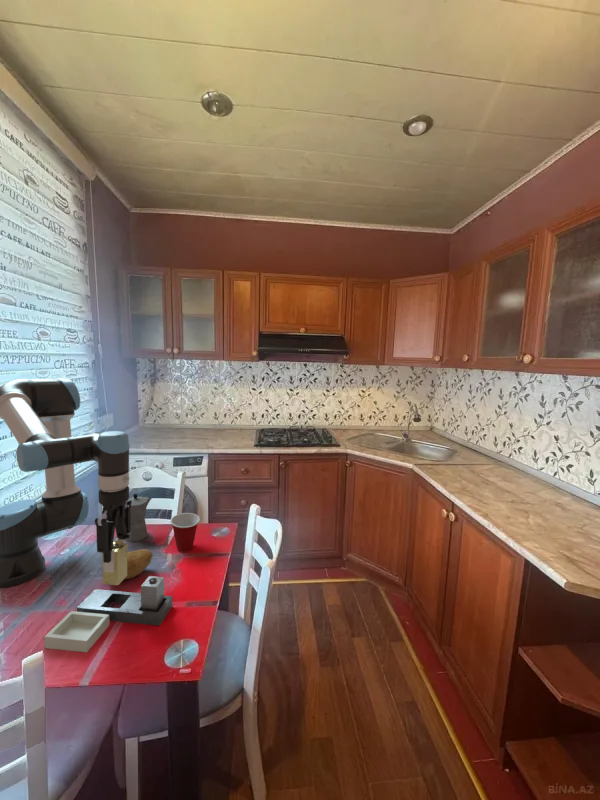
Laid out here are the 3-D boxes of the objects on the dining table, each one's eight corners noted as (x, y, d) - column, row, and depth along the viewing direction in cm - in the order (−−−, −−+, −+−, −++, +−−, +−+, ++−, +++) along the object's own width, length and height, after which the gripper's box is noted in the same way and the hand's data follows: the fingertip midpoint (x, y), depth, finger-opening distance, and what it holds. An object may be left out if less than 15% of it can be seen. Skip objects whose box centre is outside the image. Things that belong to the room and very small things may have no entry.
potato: (157, 574, 117) (157, 552, 116) (111, 591, 108) (111, 567, 107) (147, 561, 124) (147, 540, 124) (103, 576, 115) (103, 554, 114)
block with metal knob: (102, 583, 97) (102, 549, 96) (112, 573, 102) (112, 540, 100) (118, 585, 97) (117, 550, 96) (127, 575, 101) (127, 542, 100)
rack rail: (76, 617, 97) (76, 607, 96) (95, 598, 105) (95, 589, 104) (159, 625, 95) (159, 615, 95) (172, 605, 103) (172, 596, 103)
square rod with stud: (141, 619, 97) (141, 584, 96) (149, 607, 102) (149, 574, 100) (156, 620, 97) (156, 585, 96) (164, 609, 101) (164, 575, 100)
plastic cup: (178, 559, 127) (178, 528, 125) (165, 547, 134) (165, 518, 133) (205, 548, 134) (205, 519, 133) (191, 538, 142) (191, 510, 141)
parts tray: (45, 648, 86) (44, 636, 86) (71, 621, 95) (71, 611, 95) (86, 652, 85) (86, 640, 85) (109, 625, 94) (109, 614, 94)
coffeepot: (146, 527, 150) (146, 487, 148) (156, 534, 143) (156, 493, 141) (108, 539, 138) (107, 496, 136) (117, 548, 132) (116, 503, 130)
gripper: (107, 501, 87) (108, 586, 90) (143, 477, 104) (143, 550, 107) (78, 498, 88) (80, 584, 90) (119, 476, 105) (120, 548, 108)
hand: (115, 565), depth 99 cm, fingers closed on block with metal knob, 4 cm apart
